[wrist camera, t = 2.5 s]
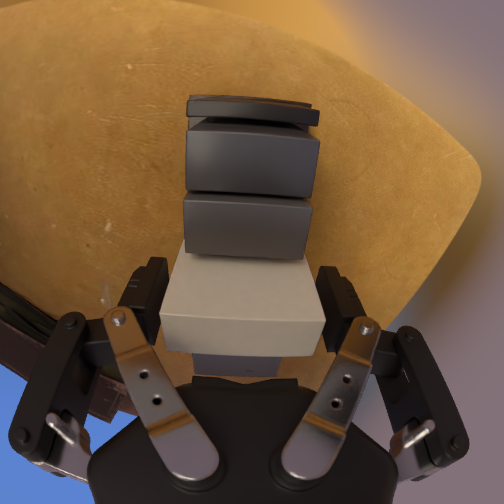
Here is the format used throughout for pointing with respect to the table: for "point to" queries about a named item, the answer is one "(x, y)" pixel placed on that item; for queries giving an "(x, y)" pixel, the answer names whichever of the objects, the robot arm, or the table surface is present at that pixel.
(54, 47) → the table surface
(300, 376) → the table surface
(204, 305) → the white book
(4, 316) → the diary
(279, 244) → the grey books
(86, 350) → the robot arm
